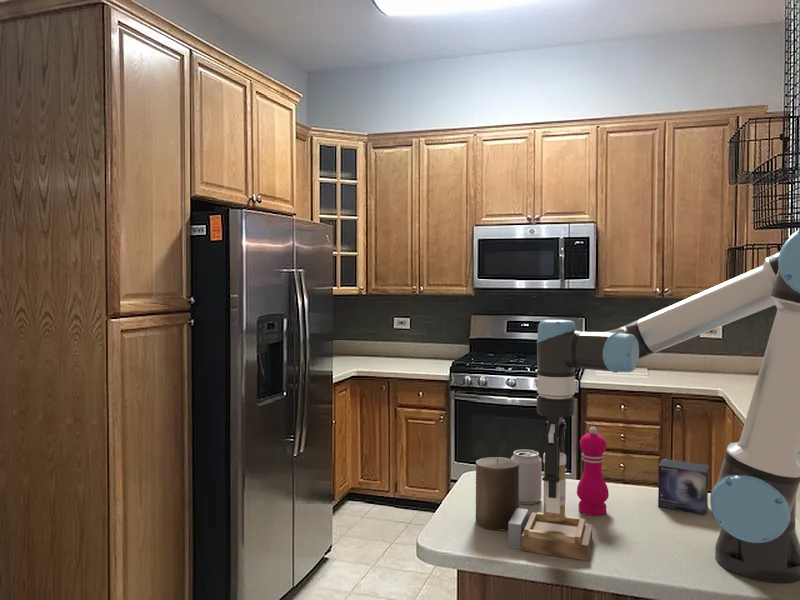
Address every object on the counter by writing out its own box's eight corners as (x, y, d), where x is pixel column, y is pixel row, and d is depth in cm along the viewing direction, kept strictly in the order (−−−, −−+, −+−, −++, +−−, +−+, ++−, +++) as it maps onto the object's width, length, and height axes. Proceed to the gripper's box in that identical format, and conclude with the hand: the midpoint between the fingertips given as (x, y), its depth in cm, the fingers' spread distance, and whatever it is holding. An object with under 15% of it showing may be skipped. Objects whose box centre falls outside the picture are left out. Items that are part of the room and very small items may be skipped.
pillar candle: (518, 532, 138) (518, 463, 138) (472, 528, 140) (473, 460, 140) (519, 516, 147) (520, 452, 147) (477, 513, 149) (477, 449, 149)
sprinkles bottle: (559, 513, 134) (559, 449, 134) (569, 521, 130) (570, 455, 129) (539, 514, 133) (539, 451, 133) (548, 523, 129) (549, 457, 128)
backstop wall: (528, 532, 138) (528, 509, 138) (520, 548, 130) (520, 524, 129) (516, 530, 139) (516, 508, 139) (508, 547, 130) (508, 522, 130)
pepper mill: (610, 517, 146) (611, 431, 145) (577, 515, 148) (578, 429, 147) (606, 506, 153) (607, 424, 153) (575, 504, 155) (576, 422, 154)
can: (522, 492, 163) (522, 446, 163) (547, 500, 158) (547, 452, 157) (504, 499, 158) (504, 451, 158) (529, 507, 153) (529, 458, 152)
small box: (657, 508, 152) (657, 464, 152) (661, 499, 158) (661, 457, 158) (705, 516, 147) (706, 471, 147) (708, 507, 153) (709, 464, 152)
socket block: (592, 538, 134) (592, 519, 134) (587, 560, 124) (588, 539, 124) (530, 530, 139) (530, 511, 139) (520, 550, 129) (521, 530, 128)
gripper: (543, 387, 140) (542, 492, 141) (529, 401, 124) (528, 520, 125) (578, 389, 137) (577, 496, 138) (569, 404, 121) (568, 526, 122)
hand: (554, 507), depth 131 cm, fingers closed on sprinkles bottle, 4 cm apart
